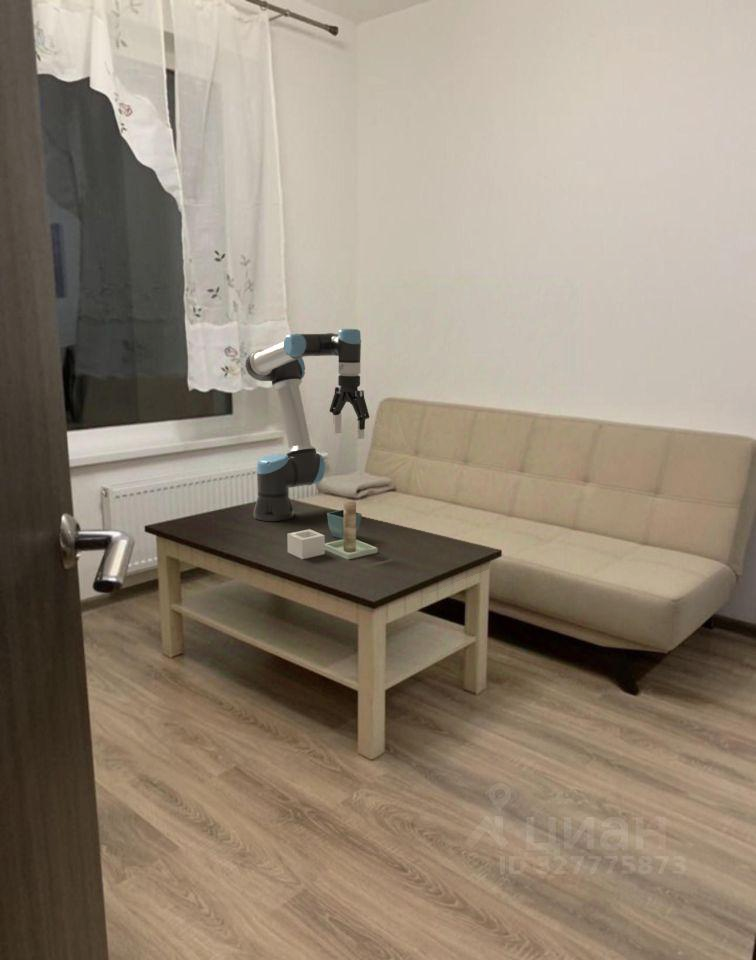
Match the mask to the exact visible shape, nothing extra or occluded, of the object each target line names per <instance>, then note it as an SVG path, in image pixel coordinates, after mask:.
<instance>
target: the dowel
mask: <svg viewBox="0 0 756 960" xmlns="http://www.w3.org/2000/svg"><path fill="white" fill-rule="evenodd" d="M343 510H344V540H343V539H342V540H343V551H345V552H354V551H356V540H357V534H356V512H357V502H356V501H352V500H349V501H348V500H347V501H344V502H343Z"/></svg>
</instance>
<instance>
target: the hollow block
mask: <svg viewBox="0 0 756 960" xmlns="http://www.w3.org/2000/svg"><path fill="white" fill-rule="evenodd" d="M286 535H287V536H286V537H287V539H286V541H287V542H286V543H287V553H288V554H291V555H293V556H295V557H297V558H299V559H301V560H304V559H305V560H306V559H309V558H313V557H318V556H322V555H325V554H326V550H325V543H326V540H325V537H326V535H324V534H322V533H320V532H317V531H315V530H312V529H310V528H308V529H305V530H300V531H294V532H290V533H287V534H286Z"/></svg>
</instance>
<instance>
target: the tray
mask: <svg viewBox="0 0 756 960" xmlns="http://www.w3.org/2000/svg"><path fill="white" fill-rule="evenodd" d="M343 540H344V539H339V540H333V541H330V542H325V551H326V552H329V553H332V554H334V555H335V556H338V557H341V558H344V559H346V560H351V559H356V558H360V557H363V556H368V555H372V554H373V555H374V554H377V553H378V547H376V546H373V545H371V544H369V543H366V542H363V541H361V540H359V539H356V551H354V552H345V551H343Z"/></svg>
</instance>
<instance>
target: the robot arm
mask: <svg viewBox="0 0 756 960" xmlns="http://www.w3.org/2000/svg"><path fill="white" fill-rule="evenodd" d="M361 337H362V336H361V330H360V329H358V328H354V329H353V328H340V329H339V330H338V333H333V332H330V333H328V332H327V333H292V334H291V333H290V334H286V336H285V338H284V339H283V341H282V342H280V343H277V344H275V345H272V346H271V347H270V346H269V348H267V349H257V350H255V351H252V352H250V354H248V356H247V357H246V358H245V359H246V360H245V369H246V372H247V374H248V375H249V376H250V377H251V378H253V379H254V380H256V381H260V382H271V385H272V388H273V389H275V390H276V391H277V395H278V401H279V406H280V409H281V415H282V420H283V425H284V430H285V431H284V432H285V436H286V440H287V445H288V451H287V452H286V453H273V454H272V453H271V454H267V455H264V456H261V458H260V459H258V460H257V465H256V466H257V467H256V478H257V479H256V480H257V481H256V482H257V499H256V502H255V505H254V508H253V518H254V519H255V520H259V521H263V522H264V521H265V522H278V521H279V522H281V521H287V520H291V519H292V518H293V517H294V508H293V505H292V502H291V499H290V496H289V495H290V494H289V493H290V492H289V491H290V490H289V488H295V487H296V488H297V487H303V486H312V485H317V484H319V483H320V482H321V481H322V480H323V478H324V476H325V471H326V464H325V463H326V462H325V459H324V457H323V456H322V454H320V453H317V450H316V447H314V446H313V445H312V444H311V440H310V435H309V430H308V426H307V420H306V419H307V418H306V414H305V410H304V405H303V400H302V395H301V391H300V385H301V384H302V382H303V381H302V379H303V378H304V377H305V375H306V372H305V371H306V364H305V362H304V359H303V358H304V357H320V356H321V357H323V356H330V357H331V356H334V357H335V356H336V357H338V360H337V361H338V374H340V375H338V377H337V378H338V380H337V381H338V382H337V383H338V386H336V387H334V394H333V398H332V401H331V404H330V407H329V412H330V413H332V415H333V434H341V433H342V410H343V408H344V407H345V405H346V403H349V404H350V405H351V406H352V408H353V410H354V412H355V415H356V417H357V418H356V440H362V439H365V429H366V420H367V419H370V414H369V410H368V406H367V402H366V399H365V391H364V390H362V389H361V390H359V389H358V388H359V387H361V386H360V385H361V376H360V374H361V356H362V355H361V350H362V349H361V348H362V347H361V346H362V344H361V343H362V339H361Z"/></svg>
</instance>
